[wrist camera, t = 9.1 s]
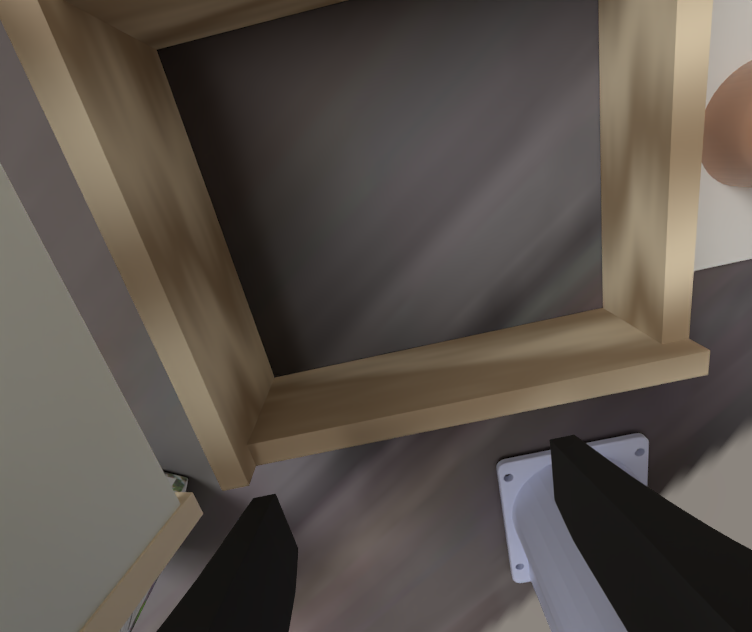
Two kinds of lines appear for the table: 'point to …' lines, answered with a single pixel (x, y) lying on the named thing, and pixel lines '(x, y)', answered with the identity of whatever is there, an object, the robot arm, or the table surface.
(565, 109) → the table surface
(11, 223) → the lid
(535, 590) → the robot arm
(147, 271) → the cold frame
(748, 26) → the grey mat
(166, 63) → the table surface
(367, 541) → the table surface
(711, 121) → the terracotta flower pot
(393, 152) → the table surface
